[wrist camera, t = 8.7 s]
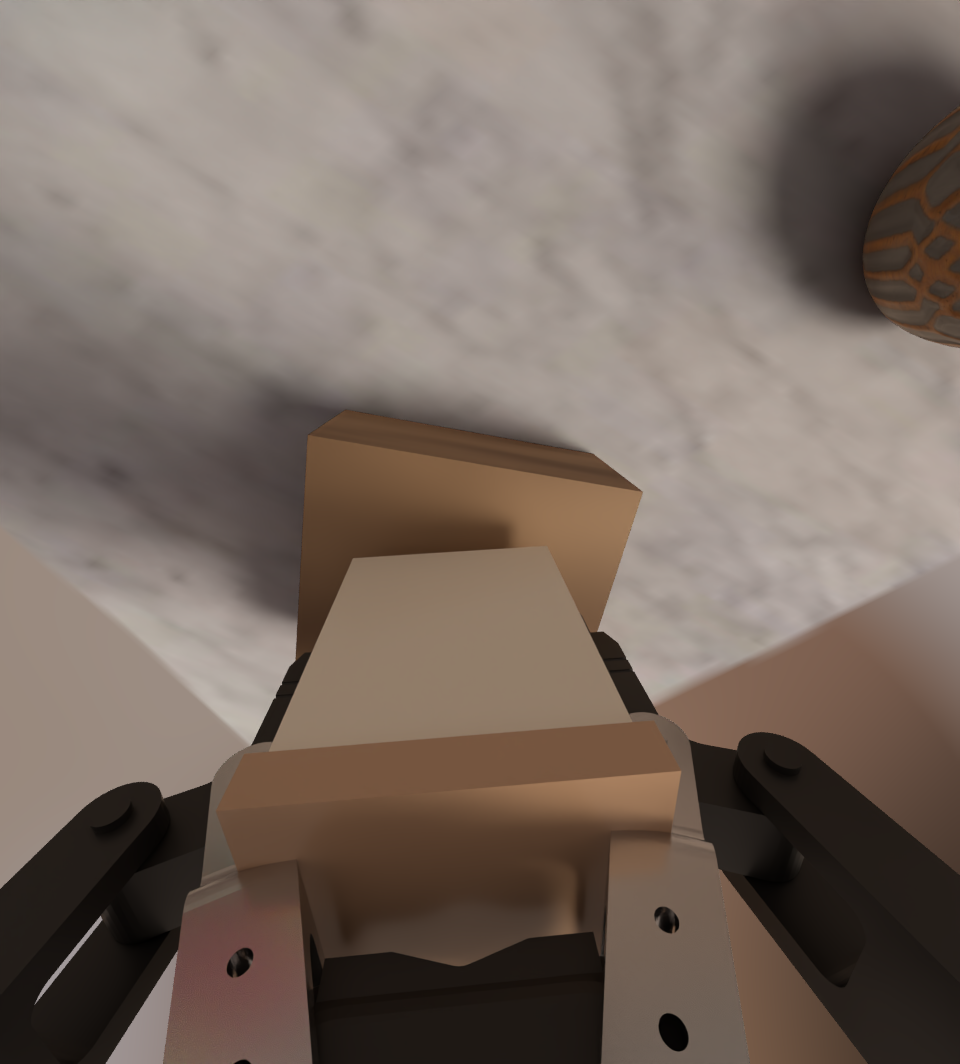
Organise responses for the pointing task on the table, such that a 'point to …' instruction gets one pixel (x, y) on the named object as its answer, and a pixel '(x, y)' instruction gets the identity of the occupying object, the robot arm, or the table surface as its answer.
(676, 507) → the table surface
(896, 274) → the vase
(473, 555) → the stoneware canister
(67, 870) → the robot arm
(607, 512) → the brown wooden block
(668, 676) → the table surface
